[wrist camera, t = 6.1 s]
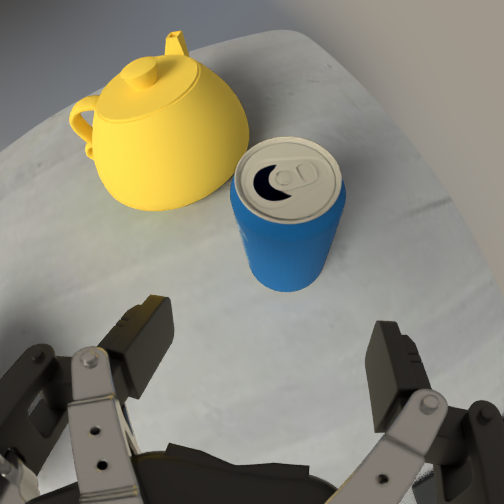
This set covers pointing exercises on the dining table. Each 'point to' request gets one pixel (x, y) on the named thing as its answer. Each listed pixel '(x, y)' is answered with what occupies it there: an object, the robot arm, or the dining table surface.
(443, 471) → the robot arm
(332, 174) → the beverage can
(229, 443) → the dining table surface
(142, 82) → the teapot
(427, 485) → the place mat
